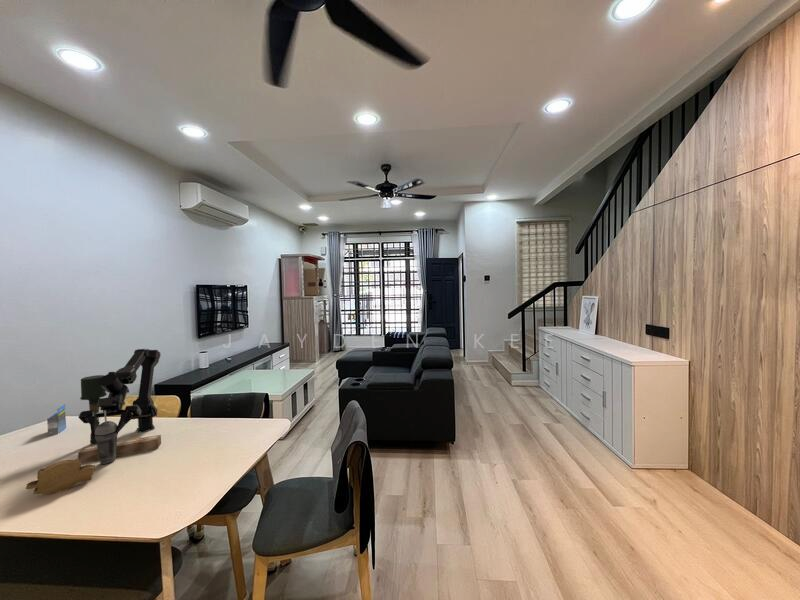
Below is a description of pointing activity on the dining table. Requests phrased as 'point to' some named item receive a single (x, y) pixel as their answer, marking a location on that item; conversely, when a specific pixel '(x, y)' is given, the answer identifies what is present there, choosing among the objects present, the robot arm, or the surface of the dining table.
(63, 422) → the label tape cartridge
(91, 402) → the stick grenade
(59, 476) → the wooden carving
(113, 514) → the dining table surface
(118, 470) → the dining table surface
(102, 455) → the beverage cup
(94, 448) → the slotted wooden bar
